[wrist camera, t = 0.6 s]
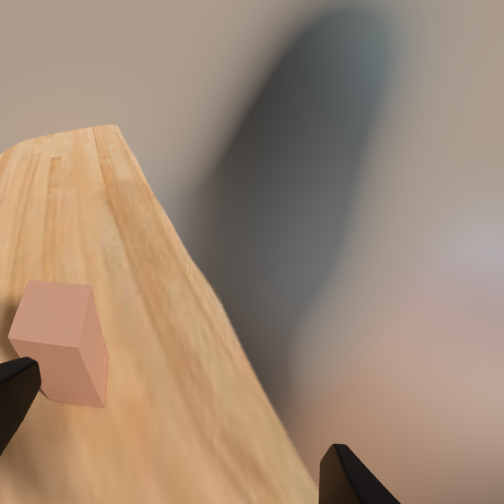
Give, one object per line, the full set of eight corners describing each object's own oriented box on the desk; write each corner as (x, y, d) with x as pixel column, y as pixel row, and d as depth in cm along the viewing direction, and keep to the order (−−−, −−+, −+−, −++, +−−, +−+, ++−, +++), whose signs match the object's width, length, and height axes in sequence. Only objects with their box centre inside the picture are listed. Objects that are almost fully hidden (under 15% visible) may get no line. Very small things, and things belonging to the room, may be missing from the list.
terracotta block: (104, 407, 20) (77, 347, 15) (49, 399, 19) (7, 337, 14) (108, 356, 24) (91, 285, 19) (58, 351, 23) (29, 280, 17)
